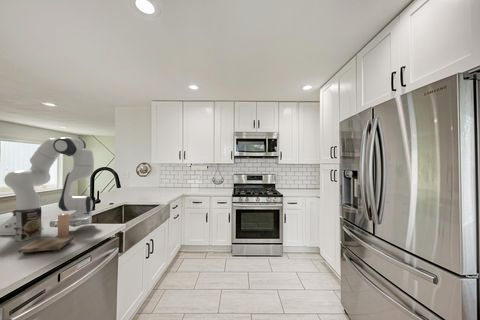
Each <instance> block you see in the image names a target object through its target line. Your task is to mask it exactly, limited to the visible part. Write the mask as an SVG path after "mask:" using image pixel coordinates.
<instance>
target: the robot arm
mask: <svg viewBox="0 0 480 320" xmlns="http://www.w3.org/2000/svg"><path fill="white" fill-rule="evenodd" d="M40 144H41V145H39V147H38V148H37V149H36V151H35V152H34V153H33V154H32V156H31V157H30V158H29V163H30V164H31V166H30V168H29V169H21V170H20V169H18V170H14V171H11V172H8V173H7V174H6V175H5V177H4V181H3V182H4V183H5V185H6V186H7V187H8V188H9V189H12V192H14V194H15V200H16V209H14V210H12V211H11V214H12V216H10V217H8V218H7V219H6V220H4V221H3V222H1V223H0V236H15V235H16V212H19V211H25V210H32V209H41V210H42V207H41V195H40V194H39V193H38V192H37V191H36V189H35V187H40V186H42V185H45V184H48V183H49V181H50V180H51V174H50V169H51V167H52V165H53V164H54V163H55V161H56V160H57V159H58V157H59V156H60V154H61V155H64V156H67V157H72V158H73V166H72V169H71V171H70V172H68V173H67V174H66V177H65V180H64V184H63V188H62V191H61V194H60V195H61V196H60V198H59V201H58V204H57V205H58V208H59V209H60V210H61V211H62V212H70V211H72V213H69V227H73V228H76V227H79V226H87V225H90V224H92V220H93V219H92V218H93V217H92V216H93V210H94V200H93V199H92V197H91V196H89V195H73V194H72V191H73V188H74V184H75V182H77V181H79V180H80V181H81V180H84V179H86V178H88V177H90V176H91V175H93V173H94V168H95V167H94V165H95V161H94V160H95V159H94V154H93V151H92V150H91V149H88V148H86V147H87V145H86V144H87V143H86V142H85V141H84V140H83V139H81V138H79V137H74V136H73V137H71V136H68V137H59V138H54V137H51V138H50V137H48V138H47V139H46V140H44V142H43V143H40ZM73 211H75V212H73ZM49 227H51V228H58V218H55V219H51V220H50V221H49ZM43 229H44V225H43V222H42V220H41V230H43Z"/></svg>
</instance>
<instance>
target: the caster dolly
mask: <svg viewBox="0 0 480 320" xmlns="http://www.w3.org/2000/svg"><path fill="white" fill-rule="evenodd" d="M72 240H74V236H69V237H59V238H58V237H51V238H50V237H48V238H38V239H36V240H33V241H32V242H30V243H28V244H26V245H24V246H23V247H19V249H17V250H18V251H17V252H18V254H20V253H22V255H23V256H29V255H30V253H31V252H42V251H53V253H59V252H60V249H62V248H63V247H64V246H66V245H70V242H71V241H72Z"/></svg>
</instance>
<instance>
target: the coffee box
mask: <svg viewBox="0 0 480 320" xmlns="http://www.w3.org/2000/svg"><path fill="white" fill-rule="evenodd" d="M41 221H42V208H41V209H32V210H25V211H19V212H16V235H14V236H15V238H14V239H15V241H16V242H17V241H18V242H25V241H30V240H33V239H36V238H41V237H42V229H41Z"/></svg>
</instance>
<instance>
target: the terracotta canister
mask: <svg viewBox="0 0 480 320" xmlns="http://www.w3.org/2000/svg"><path fill="white" fill-rule="evenodd" d="M69 215H70V213H61V214H58V215H57V219H58V227H57V238H59V237H70V226H69Z"/></svg>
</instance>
